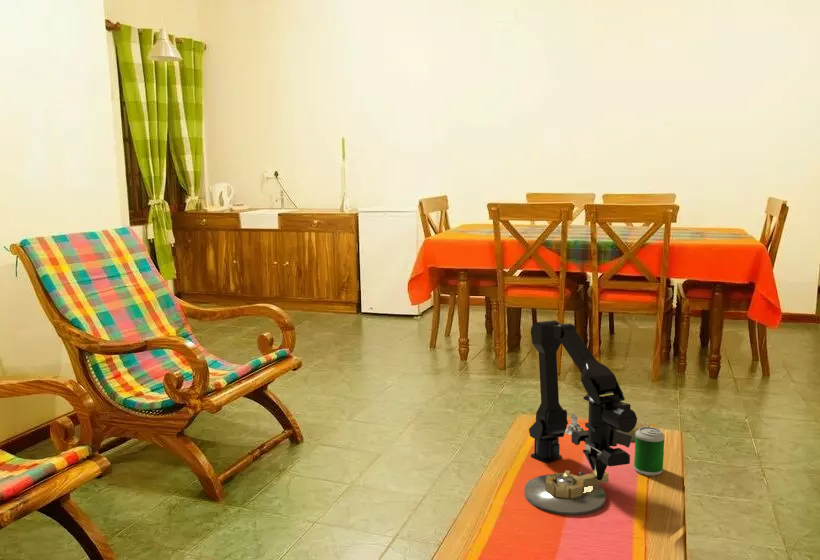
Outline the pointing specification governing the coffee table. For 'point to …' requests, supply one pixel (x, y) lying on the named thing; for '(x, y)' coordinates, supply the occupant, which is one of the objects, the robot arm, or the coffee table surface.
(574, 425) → the grey rock pile
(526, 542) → the coffee table surface
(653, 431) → the soda can
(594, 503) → the flange
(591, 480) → the brass ring wrench
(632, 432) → the brown rock
